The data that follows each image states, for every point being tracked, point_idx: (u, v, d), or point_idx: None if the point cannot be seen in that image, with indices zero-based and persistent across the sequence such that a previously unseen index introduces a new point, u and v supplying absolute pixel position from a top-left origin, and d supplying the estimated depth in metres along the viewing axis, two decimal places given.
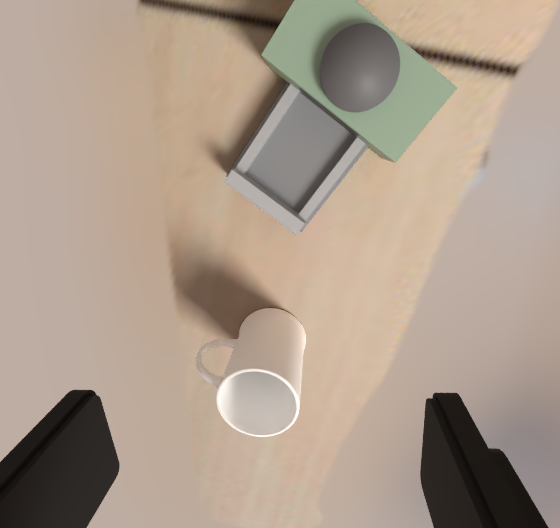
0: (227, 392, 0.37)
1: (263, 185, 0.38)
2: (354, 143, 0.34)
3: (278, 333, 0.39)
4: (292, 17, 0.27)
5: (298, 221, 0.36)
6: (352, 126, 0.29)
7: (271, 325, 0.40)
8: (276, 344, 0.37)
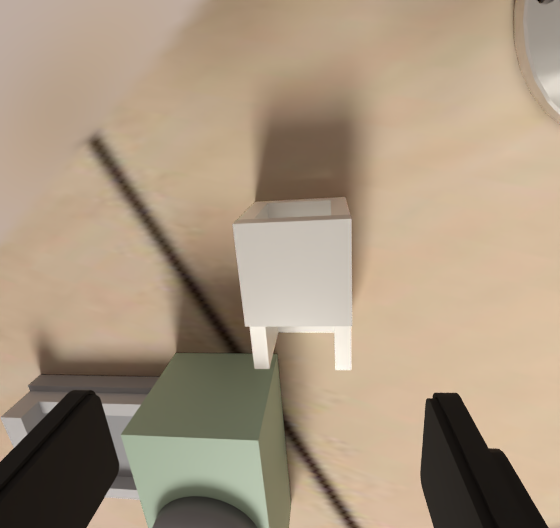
0: None
1: None
2: None
3: None
4: (188, 446, 0.17)
5: None
6: None
7: None
8: None
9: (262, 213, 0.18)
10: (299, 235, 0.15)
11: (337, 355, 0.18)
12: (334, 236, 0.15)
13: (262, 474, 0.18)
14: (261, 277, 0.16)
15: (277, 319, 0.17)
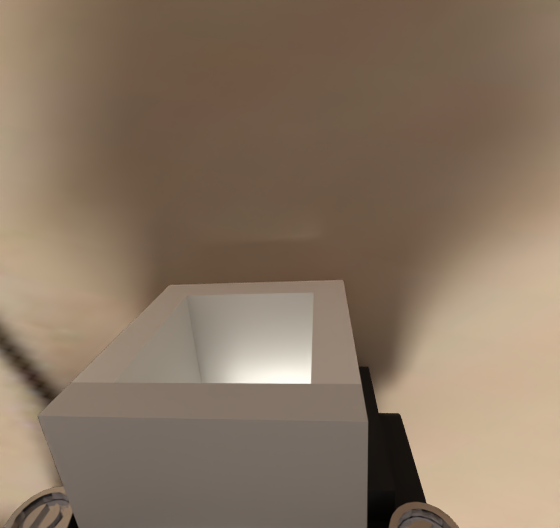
0: None
1: None
2: None
3: None
4: None
5: None
6: None
7: None
8: None
9: (164, 332, 0.08)
10: (221, 451, 0.05)
11: None
12: (318, 459, 0.05)
13: None
14: None
15: None
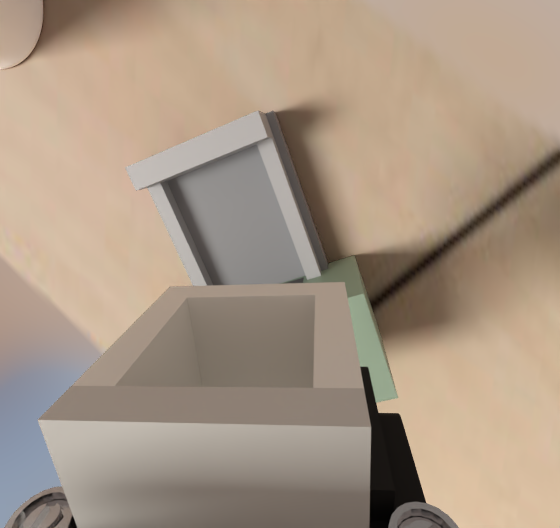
0: None
1: (228, 158, 0.23)
2: None
3: None
4: (371, 349, 0.20)
5: (143, 183, 0.22)
6: None
7: None
8: None
9: (165, 334, 0.08)
10: (222, 456, 0.05)
11: None
12: (321, 465, 0.05)
13: None
14: None
15: None
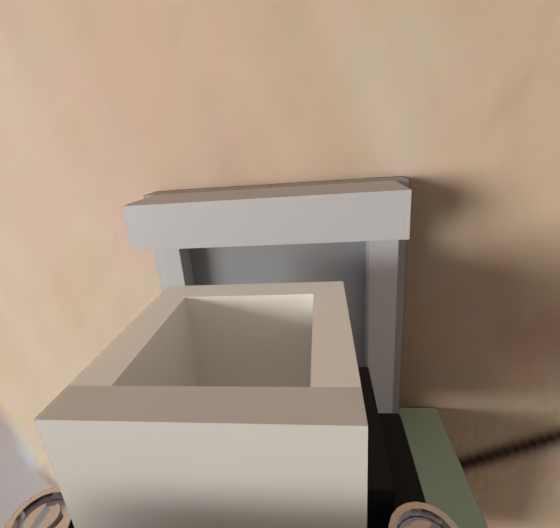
0: None
1: None
2: None
3: None
4: None
5: (149, 244, 0.12)
6: None
7: None
8: None
9: (162, 334, 0.08)
10: (219, 456, 0.05)
11: None
12: (317, 464, 0.05)
13: None
14: None
15: None
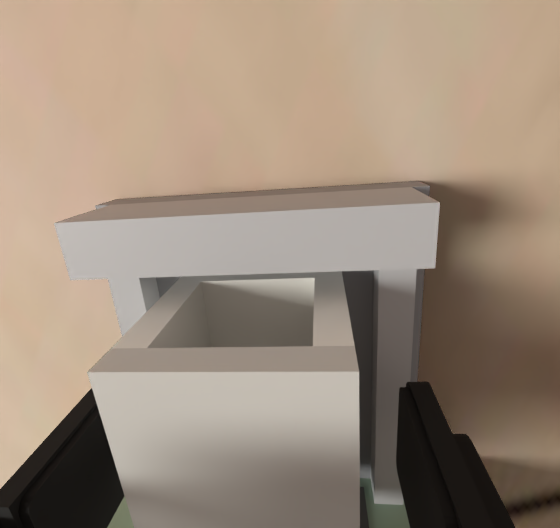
0: None
1: None
2: None
3: None
4: None
5: (93, 271, 0.09)
6: None
7: None
8: None
9: (184, 311, 0.09)
10: (239, 400, 0.07)
11: None
12: (319, 405, 0.06)
13: None
14: (164, 473, 0.07)
15: None
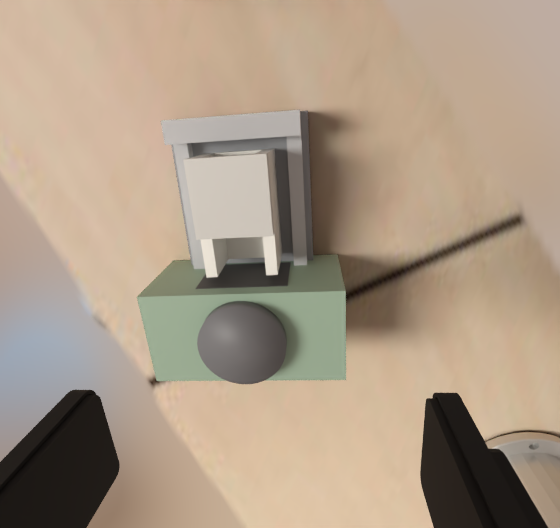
0: None
1: (255, 139, 0.25)
2: (203, 261, 0.28)
3: None
4: (337, 337, 0.24)
5: (174, 141, 0.23)
6: (205, 296, 0.24)
7: None
8: None
9: None
10: (231, 167, 0.21)
11: (266, 263, 0.24)
12: (255, 167, 0.21)
13: (314, 379, 0.26)
14: (206, 200, 0.22)
15: (219, 233, 0.23)
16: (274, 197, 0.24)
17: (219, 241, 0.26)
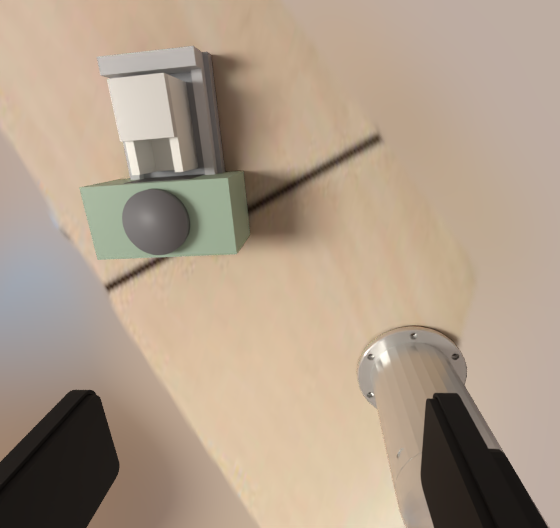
0: None
1: (171, 75, 0.34)
2: None
3: None
4: (226, 217, 0.32)
5: (107, 72, 0.32)
6: (128, 185, 0.32)
7: None
8: None
9: None
10: (140, 83, 0.30)
11: (174, 162, 0.32)
12: (157, 83, 0.30)
13: (213, 254, 0.34)
14: (125, 110, 0.31)
15: (136, 135, 0.31)
16: (181, 114, 0.33)
17: (144, 151, 0.34)
